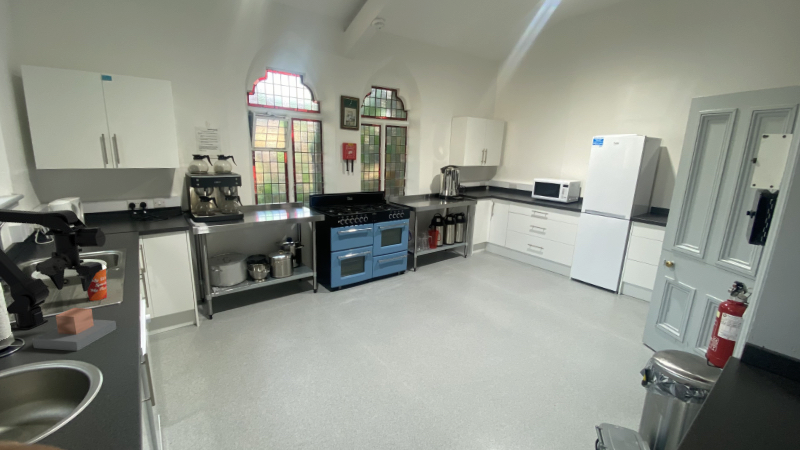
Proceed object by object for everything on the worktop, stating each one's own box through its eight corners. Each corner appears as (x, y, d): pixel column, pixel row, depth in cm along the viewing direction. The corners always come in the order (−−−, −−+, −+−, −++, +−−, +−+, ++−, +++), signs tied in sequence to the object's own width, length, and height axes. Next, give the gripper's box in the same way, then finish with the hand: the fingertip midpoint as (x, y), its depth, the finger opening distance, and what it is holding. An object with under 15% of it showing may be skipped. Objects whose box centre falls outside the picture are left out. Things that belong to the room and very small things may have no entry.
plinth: (33, 348, 106) (32, 339, 106) (77, 326, 120) (76, 318, 120) (77, 350, 106) (76, 341, 105) (116, 328, 120) (115, 320, 119)
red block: (58, 333, 110) (55, 315, 109) (76, 324, 116) (74, 307, 114) (76, 334, 109) (73, 316, 108) (93, 325, 115) (91, 308, 114)
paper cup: (95, 302, 139) (91, 269, 136) (80, 300, 140) (76, 267, 137) (115, 295, 146) (111, 264, 144) (100, 293, 148) (96, 262, 145)
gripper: (13, 252, 110) (21, 297, 113) (69, 255, 110) (76, 301, 113) (50, 243, 121) (56, 285, 124) (101, 246, 121) (106, 288, 124)
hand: (73, 290), depth 121 cm, fingers open, 9 cm apart
